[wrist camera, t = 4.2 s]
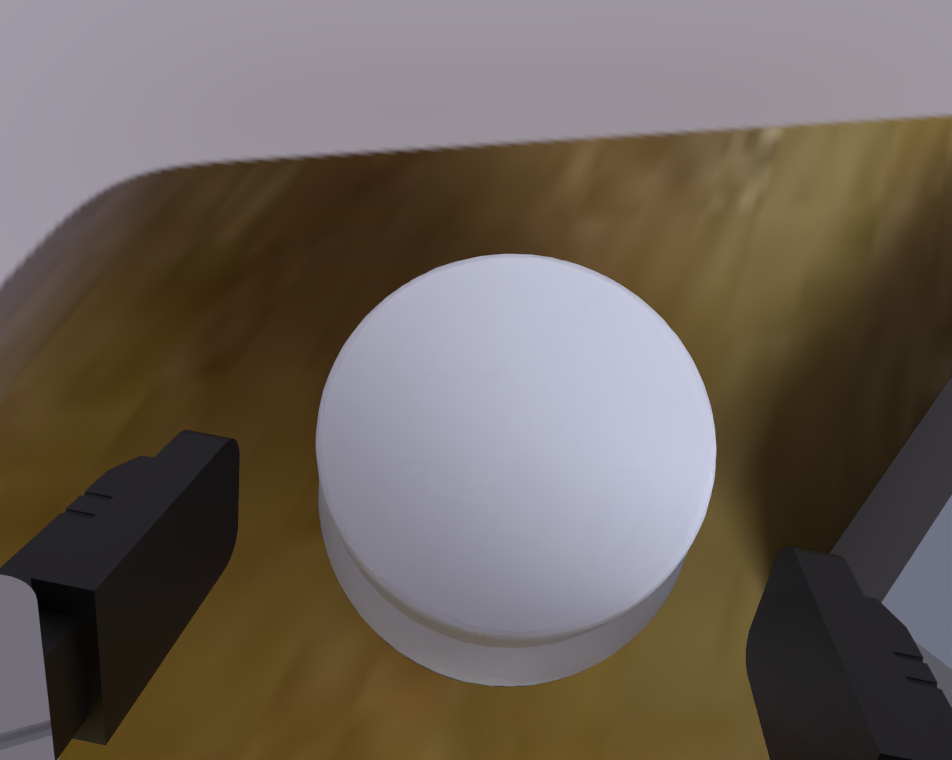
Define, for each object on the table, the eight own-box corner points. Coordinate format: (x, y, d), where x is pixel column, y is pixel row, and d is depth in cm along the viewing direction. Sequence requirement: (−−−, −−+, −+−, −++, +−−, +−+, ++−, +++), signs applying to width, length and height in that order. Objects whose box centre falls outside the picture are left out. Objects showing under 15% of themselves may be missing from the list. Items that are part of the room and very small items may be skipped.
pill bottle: (393, 419, 19) (329, 181, 10) (622, 452, 19) (770, 239, 10) (347, 662, 17) (211, 644, 8) (602, 702, 17) (766, 731, 8)
